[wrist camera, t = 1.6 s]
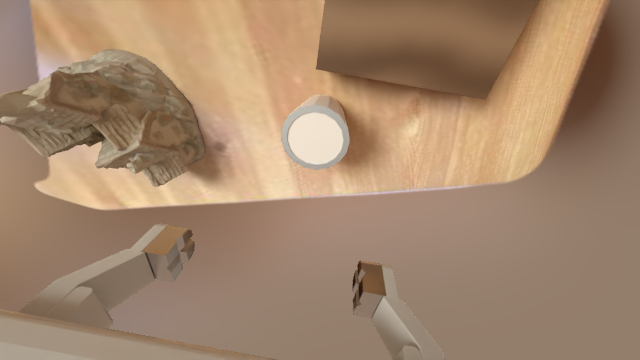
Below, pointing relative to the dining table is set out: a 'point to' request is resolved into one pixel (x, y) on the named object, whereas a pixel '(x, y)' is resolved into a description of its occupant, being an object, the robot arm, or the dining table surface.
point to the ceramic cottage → (109, 115)
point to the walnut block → (423, 41)
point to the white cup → (316, 133)
